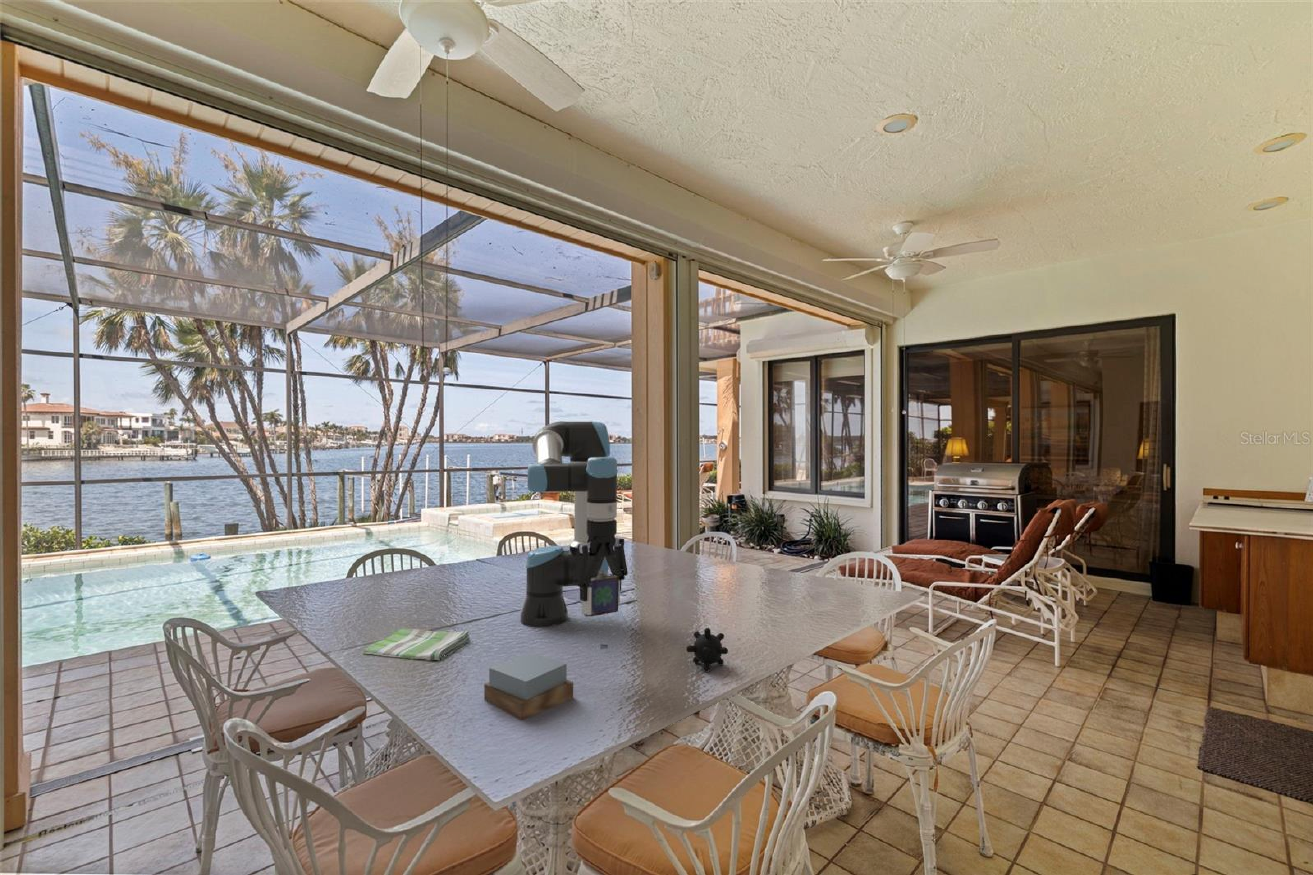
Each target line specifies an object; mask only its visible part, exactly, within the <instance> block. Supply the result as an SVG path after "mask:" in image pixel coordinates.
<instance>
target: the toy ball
mask: <svg viewBox="0 0 1313 875" xmlns="http://www.w3.org/2000/svg"><path fill="white" fill-rule="evenodd" d="M711 632H712V631H711V628H709V627H706V628H704V630H703V634H701V633H700V632H699V631H695V632H694V633H693V636H694V638H695V641H694V643H693V645H691V644H690V645H687V646H686V651H687V652H688V653H693V655H694V656H693V658H692V661H693V663H694V662H695V663H694V664H698V663H701V664H703V667H702V668H703V669H704V670H705V671H708V670H711V665H714V664H715V663H717V665H719V664H723V665H724V663H725V661H724V659H723V658H722V655H727V654H729V650H728V648H727V647H724V646H722V645H723V644H722V640H724V638H725V635H724V633H722V632H719V633H718V634H717V635H714V634H712V633H711ZM697 662H698V663H697ZM704 670H703V671H704ZM705 671H704V672H705Z"/></svg>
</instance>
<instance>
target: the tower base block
mask: <svg viewBox="0 0 1313 875" xmlns="http://www.w3.org/2000/svg"><path fill="white" fill-rule="evenodd" d="M483 692H484V694H483V695H484V696H483V698H484V701H486V702H488V703H489V704H492V705H493V706H495V707H497V708H498V709H500V710H502V711H503V712H506V713H507V714H509V715H511V716H513V717H515V718H516V719H518V720H519V721H522V720H524V719H527V718H529V717H531V716H533V715H537V714H539V713H541V712H543V711H546V710H548V709H550V708H552V707H555V706H557V705H560V704H562V703H564V702H566V701H568V700H571V699H573V698H574V682H573V681H571V680H569V679H568V678H566V682H564V683H562V684H560V685H558V686H556V687H553V688H551V689H549V690H547V691H545V692H543V693H541V694H539V695H537V696H535V697H532V698H530V699H528V700H526V701H525V700H523V699H520V698H518V697H515V696H513V695H510V694H508V693H505V692H503V691H500V690H498V689H495V688H493V687H490V686H489V682H486V683H484V691H483Z"/></svg>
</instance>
